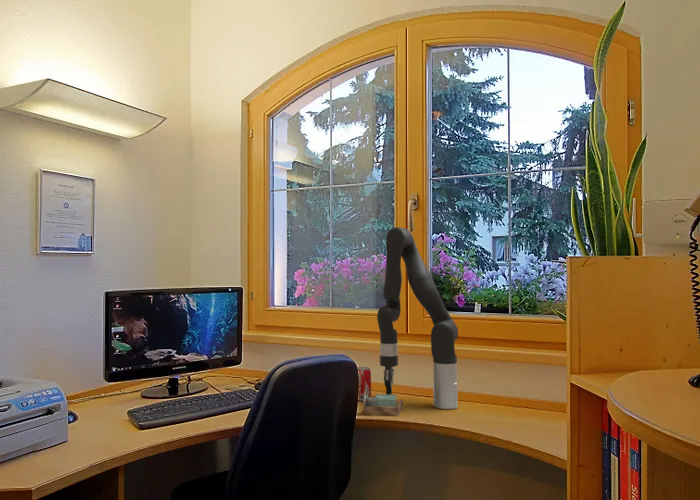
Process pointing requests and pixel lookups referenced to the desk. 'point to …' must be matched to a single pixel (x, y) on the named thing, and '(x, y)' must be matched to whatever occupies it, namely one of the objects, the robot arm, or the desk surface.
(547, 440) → the desk surface
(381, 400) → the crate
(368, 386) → the soda can
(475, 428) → the desk surface
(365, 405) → the bay
